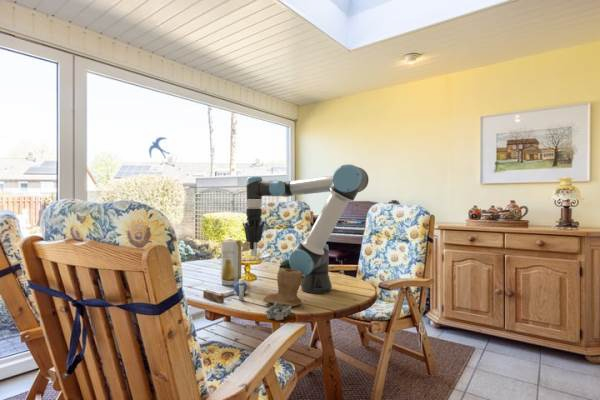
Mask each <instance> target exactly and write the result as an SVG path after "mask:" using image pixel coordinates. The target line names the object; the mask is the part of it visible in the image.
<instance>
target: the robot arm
mask: <svg viewBox="0 0 600 400" xmlns="http://www.w3.org/2000/svg"><path fill="white" fill-rule="evenodd" d="M368 185H369V175H368V173H367V171H366V170H365V169H363V168H362V167H359V166H356V165H354V164H342V165H340V166H339V167H337V168H336V169H335V171H334V172H333V174H332V175H328V176H321V177H313V178H312V177H311V178H303V179H295V180H288V181H282V180H277V179H274V180H263V178H262V177H261V176H248V177H247V178H246V186H245V187H246V206H245V207H246V212H245V213H246V217H247V218H246V221H244V222H242V227H243V229H244V234H245V240H246V242H248V243H249V250H250V256H251V257H257V253H258V250H257V249H258V243H260V242H261V241H262V237H263V236H262V235H263V229H264V226H265V224H266V222H265V221H263V220H262V215H263V213H262V211H263V209H262V206H263V204H262V203H263V201H262V199H263V197H285V198H288V197H292V196H301V195H311V194H320V193H330V195H329V196H328V197H327V200H326V202H325V203H324V205H323V207H322V209H321V211H320V213H319V214H318V217H317V218H316V220H315V222H314V223H313V226H312V227H311V229H310V231H309V233H308V235H307V236H306V238H305V239H302V240H301V241H300V243H299V245H298V247H297V249H295V250H293V251H292V252H291V253H290V255H289V259H288V260H289V264H290V267H291V269H294V270H299V271H300V272H301V274H302V276H303V277H302V280H301V284H300V285H301V286H300V289H301V291H302V290H303V291H302V292H304V291H305V293H308V292H309V293H308V294H326V293H325V292H327V293H330V292H331V290H333V286H332V281H331V278H330V275H329V265H330V264H329V263H330V261H329V257H330V255H329V254H330V250H329V249H330V248H329V244H327V242H328V240H329V239H330V237H331V234H332V233H333V231H334V229H335V227H336V226H337V224H338V222H339V220H340V219H341V216H342V214H343V213H344V211H345V209H346V208H347V205H348V204H349V203H351V202H354V201H355V198H356V197H357V195H358V193H361V192H362V191H364V190H365V189H366V188H367V187H368ZM329 291H330V292H329Z"/></svg>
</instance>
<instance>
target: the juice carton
mask: <svg viewBox="0 0 600 400" xmlns="http://www.w3.org/2000/svg"><path fill="white" fill-rule="evenodd" d="M220 253H221V255H220V256H221V258H220V260H221V261H220V262H221V264H220V265H221V267H220V275H221V276H220V280H221V285H224V286H234V285H235V283H236V282H238V281H239V280H240V279H242V241H241V239H234V238H232V237H229V238H227V239H224V240H221V252H220Z"/></svg>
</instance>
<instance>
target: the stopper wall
mask: <svg viewBox="0 0 600 400" xmlns="http://www.w3.org/2000/svg"><path fill="white" fill-rule="evenodd" d="M202 291H203V295H202V296H203V297H202V298H204V299H207V300H210V301H213V302H216V303H218V304H221V303H224V300H225V299H224V298H225V297H224V295H222V294H219V293H220V292H216V291H212V290H209V289H206V290H202Z"/></svg>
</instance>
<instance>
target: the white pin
mask: <svg viewBox="0 0 600 400" xmlns="http://www.w3.org/2000/svg"><path fill="white" fill-rule="evenodd" d="M218 293H219V294H222V295H224V298H225V297H228V296H231V295H234V294H235V290H234V289H230V290H227V291H226V290H225V291H223V292H218Z"/></svg>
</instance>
